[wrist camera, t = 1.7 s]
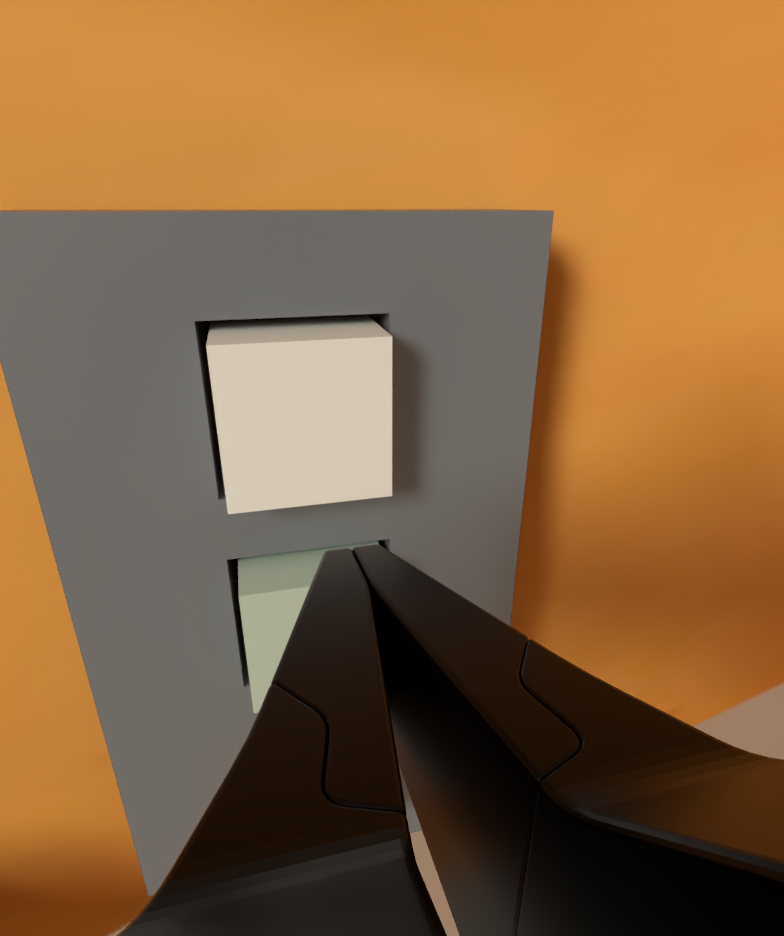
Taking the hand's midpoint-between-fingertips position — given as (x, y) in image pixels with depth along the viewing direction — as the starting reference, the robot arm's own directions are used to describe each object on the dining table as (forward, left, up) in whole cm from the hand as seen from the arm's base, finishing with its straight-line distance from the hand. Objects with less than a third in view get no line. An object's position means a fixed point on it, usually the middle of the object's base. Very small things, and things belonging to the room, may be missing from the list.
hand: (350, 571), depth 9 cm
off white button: (0, 0, -9) cm, 9 cm away
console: (0, -7, -11) cm, 13 cm away
